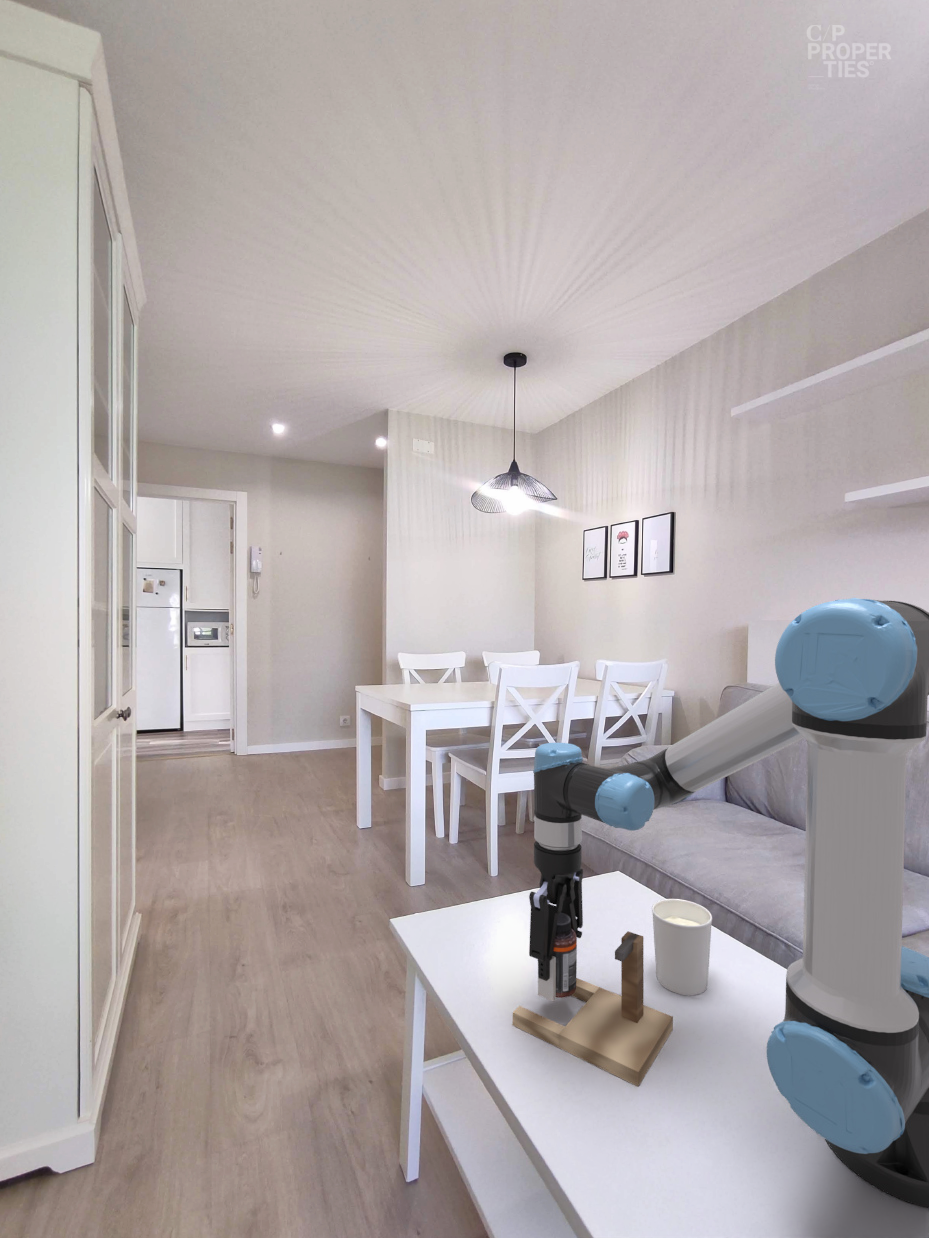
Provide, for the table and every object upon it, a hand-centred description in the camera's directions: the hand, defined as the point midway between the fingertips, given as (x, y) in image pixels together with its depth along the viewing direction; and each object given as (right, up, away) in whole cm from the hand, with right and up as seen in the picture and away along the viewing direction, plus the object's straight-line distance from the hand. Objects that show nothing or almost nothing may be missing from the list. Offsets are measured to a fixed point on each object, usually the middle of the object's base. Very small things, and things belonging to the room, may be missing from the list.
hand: (557, 986), depth 95 cm
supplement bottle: (0, 0, 0) cm, 0 cm away
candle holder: (+23, -4, +8) cm, 25 cm away
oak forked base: (+5, -4, -4) cm, 7 cm away
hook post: (+10, -2, -6) cm, 11 cm away
